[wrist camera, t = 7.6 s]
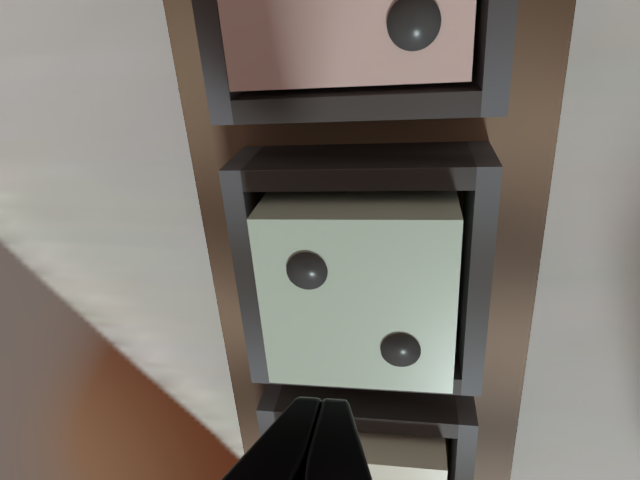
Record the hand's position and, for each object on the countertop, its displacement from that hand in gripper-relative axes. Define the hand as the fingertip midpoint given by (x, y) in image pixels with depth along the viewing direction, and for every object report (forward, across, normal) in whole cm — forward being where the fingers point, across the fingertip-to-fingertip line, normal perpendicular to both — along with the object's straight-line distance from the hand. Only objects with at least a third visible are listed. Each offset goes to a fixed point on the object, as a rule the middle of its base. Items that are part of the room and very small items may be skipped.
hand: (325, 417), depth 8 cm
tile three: (+5, 0, -7) cm, 9 cm away
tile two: (+5, 0, 0) cm, 5 cm away
